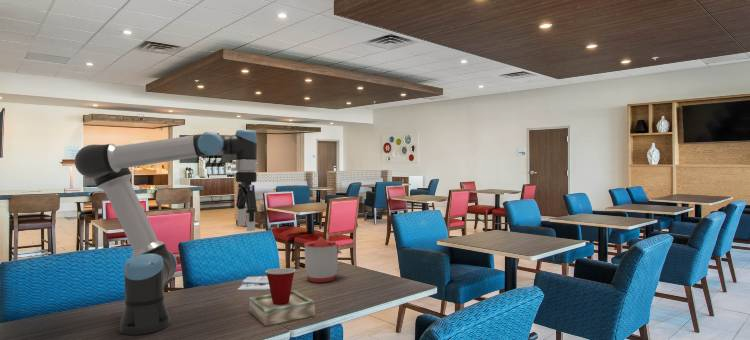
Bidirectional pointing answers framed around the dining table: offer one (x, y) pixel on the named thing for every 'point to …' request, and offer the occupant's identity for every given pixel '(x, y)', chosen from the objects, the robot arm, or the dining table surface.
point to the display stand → (281, 308)
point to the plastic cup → (280, 284)
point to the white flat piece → (255, 283)
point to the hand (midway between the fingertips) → (246, 228)
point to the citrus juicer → (321, 260)
